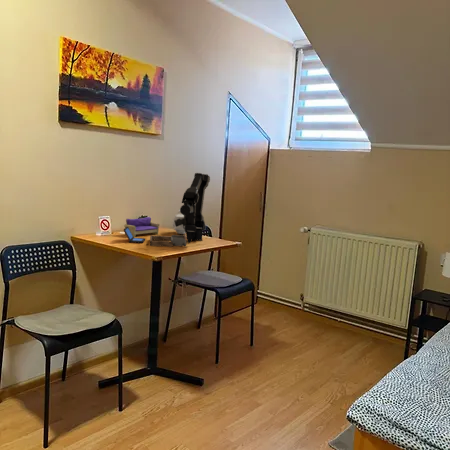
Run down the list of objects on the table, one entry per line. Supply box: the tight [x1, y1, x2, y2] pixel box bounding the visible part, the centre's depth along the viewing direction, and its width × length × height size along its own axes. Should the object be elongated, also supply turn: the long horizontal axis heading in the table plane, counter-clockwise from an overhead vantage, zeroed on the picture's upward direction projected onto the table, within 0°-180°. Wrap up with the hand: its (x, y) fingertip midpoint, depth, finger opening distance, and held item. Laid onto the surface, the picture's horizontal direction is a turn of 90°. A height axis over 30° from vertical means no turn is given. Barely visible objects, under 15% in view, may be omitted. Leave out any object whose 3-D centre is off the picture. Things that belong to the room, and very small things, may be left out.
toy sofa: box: [123, 216, 160, 238], centre depth 275 cm, size 21×9×10 cm, turn 143°
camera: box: [171, 208, 186, 235], centre depth 289 cm, size 11×18×16 cm, turn 178°
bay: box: [149, 235, 173, 248], centre depth 252 cm, size 12×18×2 cm, turn 8°
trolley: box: [170, 233, 187, 247], centre depth 253 cm, size 8×12×5 cm, turn 9°
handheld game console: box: [123, 227, 146, 244], centre depth 253 cm, size 12×11×7 cm
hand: (188, 241), depth 254 cm, fingers open, 9 cm apart
